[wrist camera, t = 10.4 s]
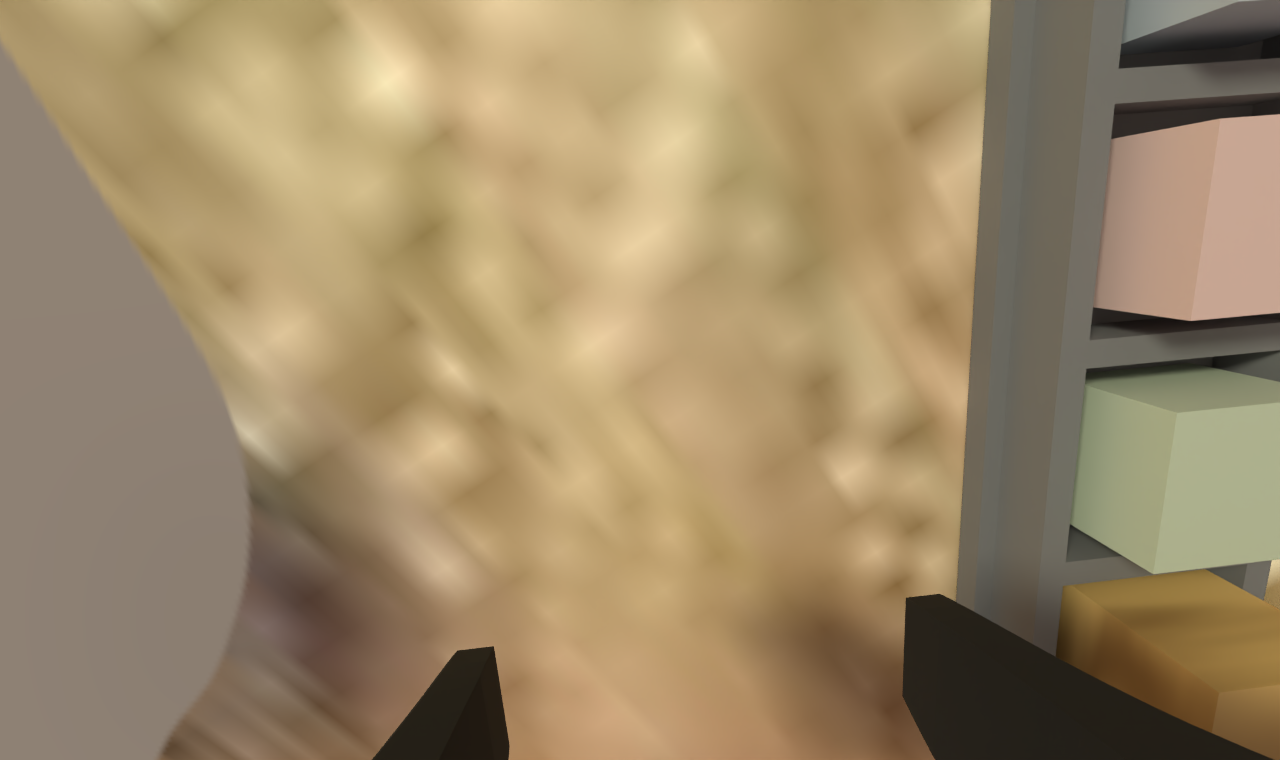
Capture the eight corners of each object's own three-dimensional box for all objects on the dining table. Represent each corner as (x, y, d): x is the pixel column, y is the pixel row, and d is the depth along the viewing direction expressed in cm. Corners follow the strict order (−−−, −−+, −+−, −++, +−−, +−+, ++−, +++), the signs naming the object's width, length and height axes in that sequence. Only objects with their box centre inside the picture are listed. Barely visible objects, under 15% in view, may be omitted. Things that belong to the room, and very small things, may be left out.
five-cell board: (1165, 696, 23) (1315, 817, 18) (948, 725, 23) (1045, 857, 18) (1371, -574, 14) (1766, -985, 10) (1025, -574, 14) (1256, -1006, 9)
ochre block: (1146, 658, 21) (1352, 814, 16) (1027, 673, 21) (1192, 838, 15) (1163, 546, 20) (1390, 669, 15) (1038, 561, 20) (1218, 692, 14)
